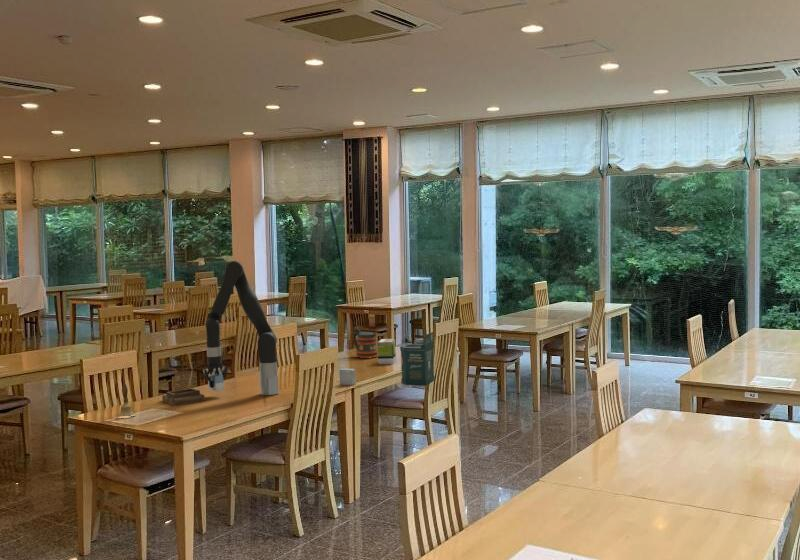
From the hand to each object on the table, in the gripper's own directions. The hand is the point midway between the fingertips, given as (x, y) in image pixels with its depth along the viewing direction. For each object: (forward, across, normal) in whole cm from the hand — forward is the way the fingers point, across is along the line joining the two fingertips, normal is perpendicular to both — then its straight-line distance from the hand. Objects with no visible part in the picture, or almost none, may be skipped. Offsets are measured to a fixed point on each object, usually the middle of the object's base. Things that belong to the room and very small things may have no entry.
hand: (216, 386), depth 426 cm
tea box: (+7, +133, +18) cm, 134 cm away
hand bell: (+5, -53, -11) cm, 55 cm away
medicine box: (+7, +68, -25) cm, 73 cm away
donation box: (+8, +98, -50) cm, 111 cm away
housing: (+1, 0, 0) cm, 1 cm away
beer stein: (+7, +137, +48) cm, 146 cm away
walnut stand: (+5, -17, +4) cm, 18 cm away
